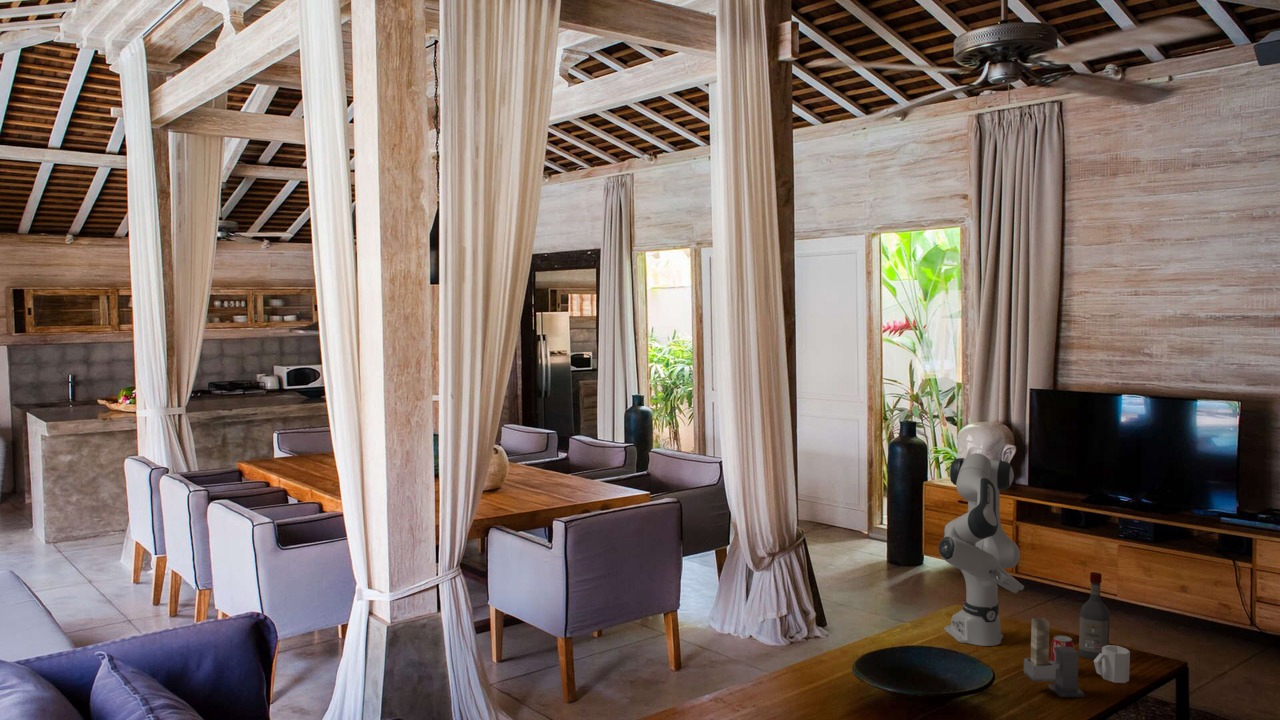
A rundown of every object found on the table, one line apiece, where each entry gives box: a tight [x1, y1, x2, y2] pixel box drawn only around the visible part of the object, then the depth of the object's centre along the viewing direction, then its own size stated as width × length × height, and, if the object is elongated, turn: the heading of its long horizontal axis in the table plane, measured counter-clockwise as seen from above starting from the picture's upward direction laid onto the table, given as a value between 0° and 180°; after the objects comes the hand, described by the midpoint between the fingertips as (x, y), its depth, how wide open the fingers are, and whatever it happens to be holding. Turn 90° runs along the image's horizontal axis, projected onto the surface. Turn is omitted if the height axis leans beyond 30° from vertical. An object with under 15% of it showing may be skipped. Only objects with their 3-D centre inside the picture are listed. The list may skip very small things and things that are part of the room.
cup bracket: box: [1023, 647, 1085, 698], centre depth 307 cm, size 17×8×14 cm, turn 92°
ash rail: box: [1030, 617, 1050, 666], centre depth 306 cm, size 4×4×18 cm
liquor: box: [1078, 571, 1111, 661], centre depth 339 cm, size 9×9×30 cm
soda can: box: [1050, 634, 1075, 661], centre depth 324 cm, size 7×7×12 cm
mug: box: [1093, 644, 1131, 684], centre depth 318 cm, size 12×9×10 cm
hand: (1013, 580), depth 312 cm, fingers open, 8 cm apart
